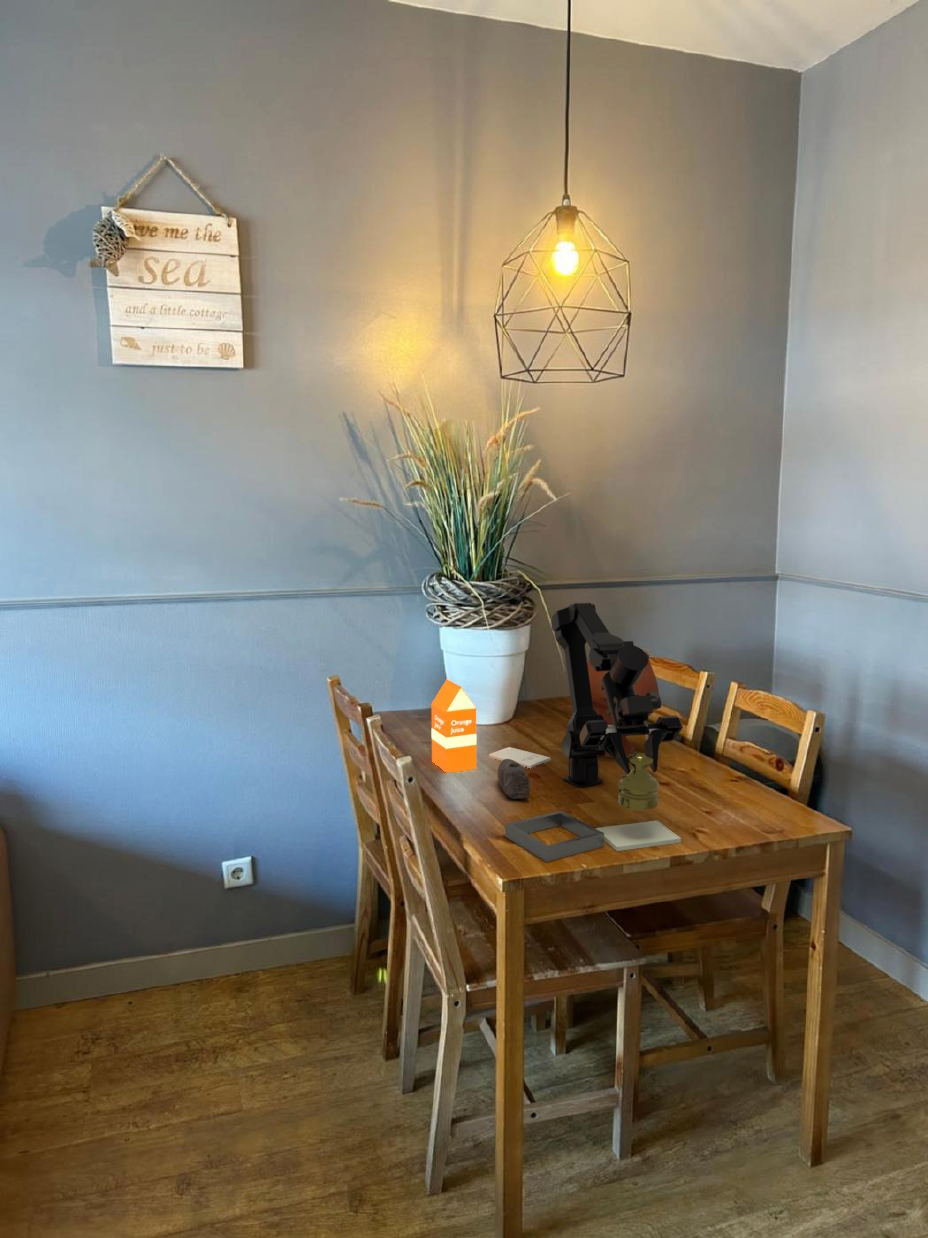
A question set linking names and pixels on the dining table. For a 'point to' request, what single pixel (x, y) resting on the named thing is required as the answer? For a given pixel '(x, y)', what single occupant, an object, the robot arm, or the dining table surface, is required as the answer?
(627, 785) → the brass rounded piece
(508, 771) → the perforated stone tool
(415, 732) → the dining table surface
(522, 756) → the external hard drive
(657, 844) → the tile
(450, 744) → the orange juice
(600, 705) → the goblet
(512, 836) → the grey square frame
